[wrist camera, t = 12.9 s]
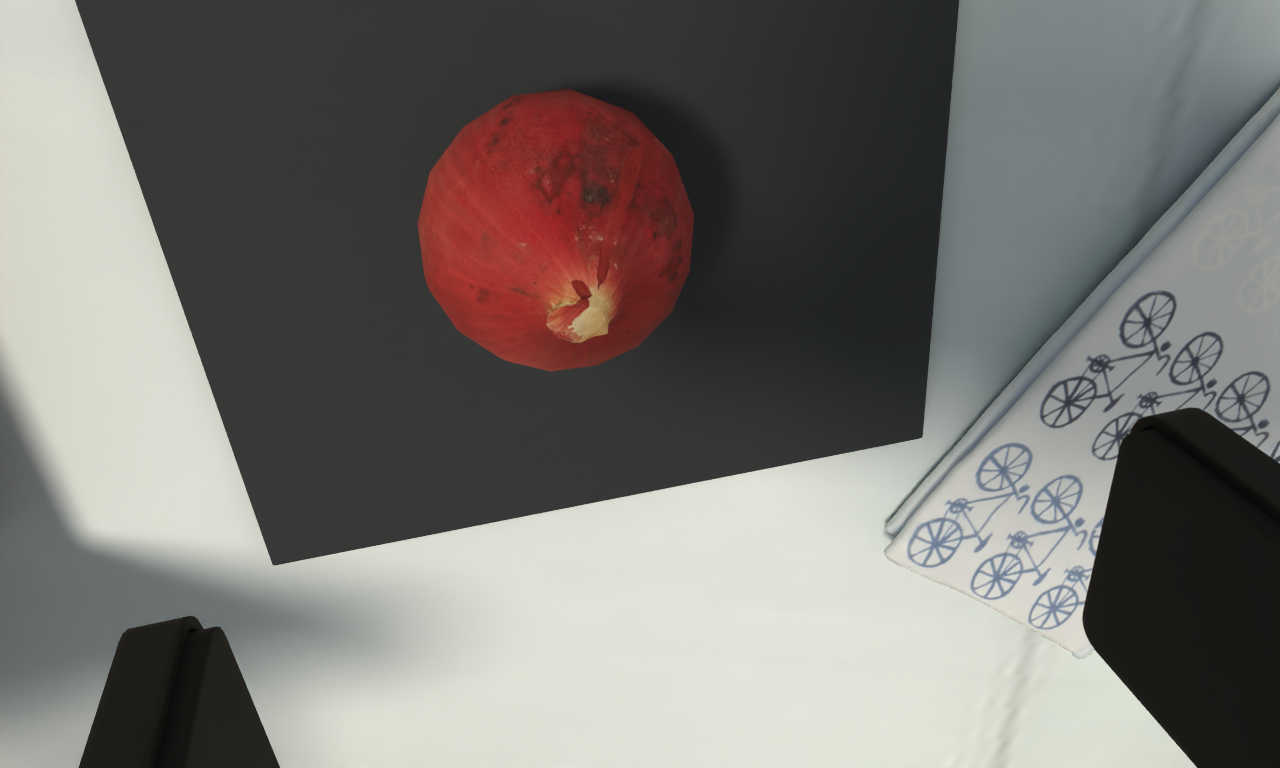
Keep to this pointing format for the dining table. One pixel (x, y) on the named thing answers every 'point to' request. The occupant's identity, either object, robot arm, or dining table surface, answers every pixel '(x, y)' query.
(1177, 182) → the dining table surface
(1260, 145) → the bicycle print napkins
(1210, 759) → the robot arm
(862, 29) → the mat
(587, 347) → the pomegranate
